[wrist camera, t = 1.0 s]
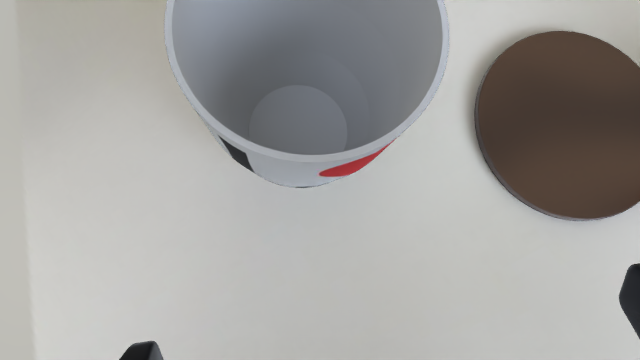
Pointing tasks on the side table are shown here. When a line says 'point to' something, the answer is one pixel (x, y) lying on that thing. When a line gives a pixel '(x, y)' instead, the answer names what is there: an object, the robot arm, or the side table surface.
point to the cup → (307, 78)
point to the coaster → (563, 125)
